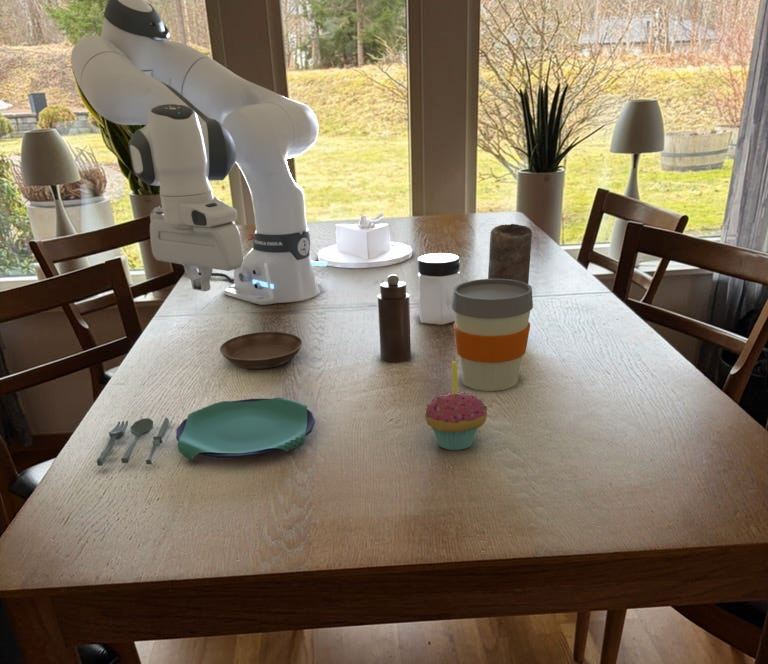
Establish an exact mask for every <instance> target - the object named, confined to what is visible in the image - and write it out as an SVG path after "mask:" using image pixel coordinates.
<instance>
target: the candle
mask: <svg viewBox="0 0 768 664" xmlns="http://www.w3.org/2000/svg"><path fill="white" fill-rule="evenodd" d="M532 238H533V231H532V229H531V228H530V227H528V226H527V225H522V224H516V223H511V224H505V223H504V224H500V225H496V226H495V227H493V228H492V229H491V231H490V235H489V248H488V250H489V251H488V252H489V253H488V269H487V271H488V272H487V279H509V280H516V281H521V282H524V283H527V284H528V285H529V281H530V280H529V279H530V267H531V266H530V265H531V253H532Z"/></svg>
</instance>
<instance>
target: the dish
mask: <svg viewBox="0 0 768 664" xmlns="http://www.w3.org/2000/svg"><path fill="white" fill-rule="evenodd" d="M383 217H385V214H384V213H383V212H381V213H380V214H378V215H377V216H376V217H375V218H374V219H371V218H368V217H367V216H366V215H365V214H362V215H361V217H360V218H359V221H358V223H354V224H353V223H340V224H339V223H336V224H334V234H335V244H333V245H330V246H327V247H324V248H322V249H320V250H319V251H318V252H317V258H318V262H326V263H327V266H329V267H336V268H344V269H345V268H346V269H367V268H377V267H386V266H391V265H395V264H396V265H397V264H400V263H402V262H405V261H408V260H409V259H410V258H411V257H412V256H413V249H412V247H411V246H410V245H407V244H404V243H402V242H395V241H391V227H390V223H377V222H378V221H379V220H381V219H382V218H383Z"/></svg>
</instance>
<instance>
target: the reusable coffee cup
mask: <svg viewBox="0 0 768 664" xmlns="http://www.w3.org/2000/svg"><path fill="white" fill-rule="evenodd" d="M533 300H534V299H533V288H532V286H531V285H530V284H529V283H528V284H527V283H524V282H521V281H516V280H509V279H488V278H482V279H481V278H480V279H473V280H468V281H463V282H462V283H461V282H460V284H459V285H457V286H455V288H454V291H453V301H452V309H453V311H454V314H455V322H453V327H452V328H453V334H454V341H455V351H456V355H458V356H459V361H460V368H461V369H460V370H461V378H462V383H463V385H465V387H468V388H470V389H472V390H477V391H484V392H497V391H504V390H508V389H510V388H513V387H515V386H516V385H517V384H518V382H519V381H518V380H519V378H520V377H519V376H520V370H521V365H522V359H523V356H524V355H525V354H526V353H527V346H528V340H529V336H530V335H529V334H530V329H531V323H530V322H529V320H530V314H531V311H532V310H533V308H534V303H533Z"/></svg>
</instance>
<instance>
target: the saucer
mask: <svg viewBox="0 0 768 664" xmlns="http://www.w3.org/2000/svg"><path fill="white" fill-rule="evenodd" d="M302 346H303V340H302V338H300V337H299V336H298V335H295V334H292V333H289V332H283V331H259V332H251V333H245V334H241V335H238V336H235V337H231V338H230V339H227V340H226V341H224V342H223V343H222V344H221V345H220V347H219V352H220V353H221V355H222V356H223V357H224V358H225V359H226V360H228V361H229V362H230V363H232V364H234V365H235V366H237V367H240V368H243V369H251V370H261V369H262V370H263V369H271V368H275V367H279V366H282V365H284V364H287V363H288V362H290V361H291V360H292V359H293V358H295V357H296V356H297V354H298V353H299V351H300V350H301V348H302Z"/></svg>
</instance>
